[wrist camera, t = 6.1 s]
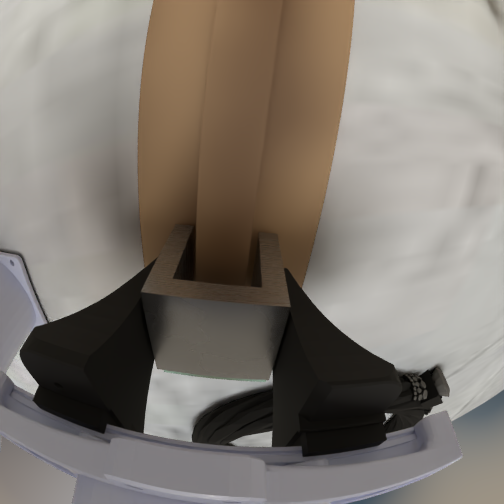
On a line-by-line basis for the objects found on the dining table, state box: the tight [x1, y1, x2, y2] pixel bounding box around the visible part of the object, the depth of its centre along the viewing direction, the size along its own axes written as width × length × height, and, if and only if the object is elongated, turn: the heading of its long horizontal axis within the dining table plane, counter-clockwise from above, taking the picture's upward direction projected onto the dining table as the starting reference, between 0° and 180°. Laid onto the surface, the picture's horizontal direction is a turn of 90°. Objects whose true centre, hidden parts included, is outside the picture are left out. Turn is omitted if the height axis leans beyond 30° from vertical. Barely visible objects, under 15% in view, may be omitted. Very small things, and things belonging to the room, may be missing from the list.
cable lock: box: [192, 367, 450, 446], centre depth 24 cm, size 28×4×30 cm
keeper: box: [141, 224, 291, 380], centre depth 11 cm, size 4×4×5 cm
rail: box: [138, 0, 355, 382], centre depth 9 cm, size 8×22×4 cm, turn 173°
